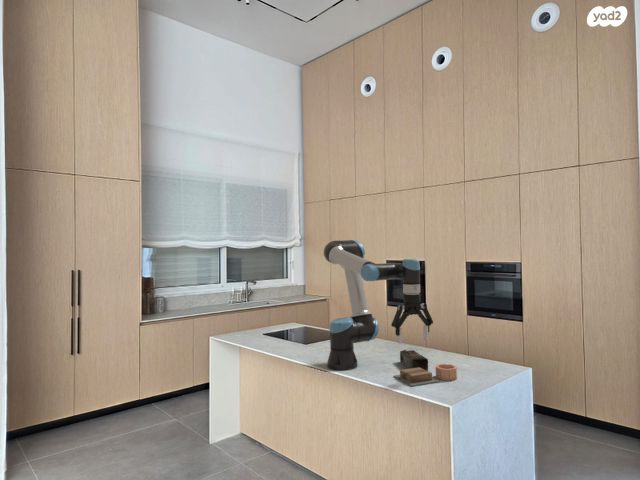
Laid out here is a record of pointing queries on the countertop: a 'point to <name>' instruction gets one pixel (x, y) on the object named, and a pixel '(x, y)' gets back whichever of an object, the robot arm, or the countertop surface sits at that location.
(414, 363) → the beverage carton
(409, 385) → the mat
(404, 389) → the countertop surface
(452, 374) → the pot
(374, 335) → the robot arm
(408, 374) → the lid
